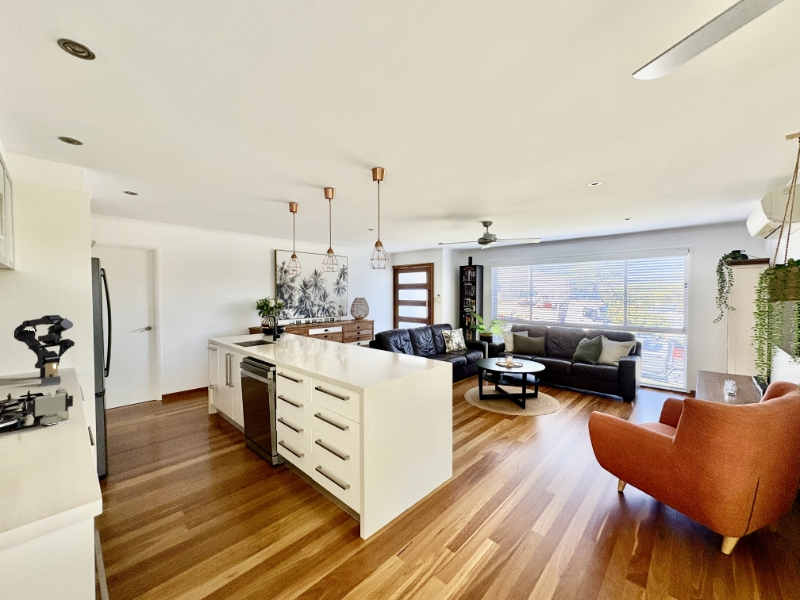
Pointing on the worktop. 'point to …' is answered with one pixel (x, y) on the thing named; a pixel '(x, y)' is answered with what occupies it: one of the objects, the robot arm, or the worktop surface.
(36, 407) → the pneumatic valve
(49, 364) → the ball
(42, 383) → the press bed
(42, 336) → the robot arm
